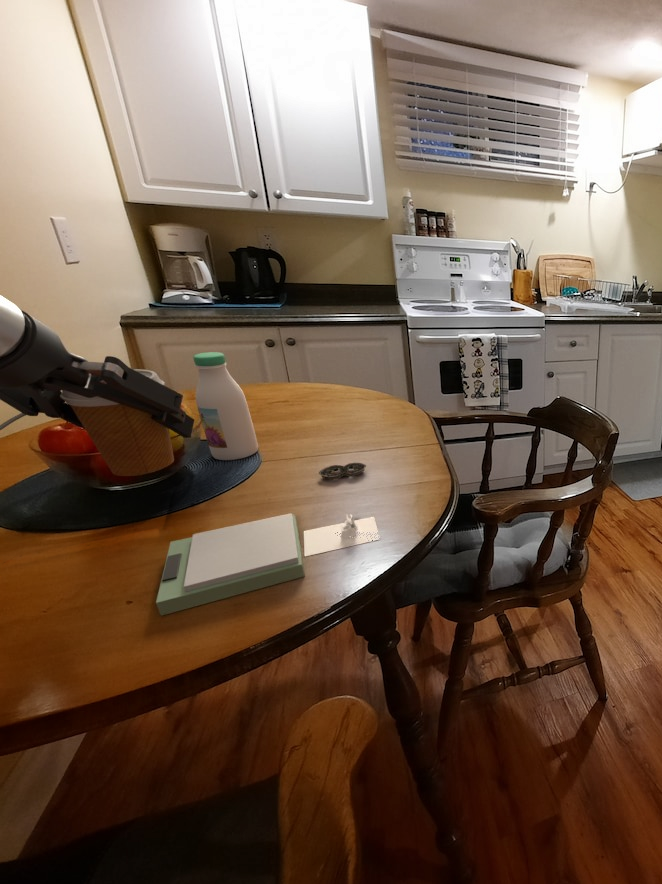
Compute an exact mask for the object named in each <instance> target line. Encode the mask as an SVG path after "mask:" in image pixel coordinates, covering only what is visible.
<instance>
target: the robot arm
mask: <svg viewBox="0 0 662 884" xmlns="http://www.w3.org/2000/svg"><path fill="white" fill-rule="evenodd" d="M89 374H91V378H90V381H89V384H88V388H85V386H86V385H87V382H88V378H89ZM62 390H65V391H69V392H72V393H75V394H78V395H81V396H84V397H87V398H93V397H96V396H98V397H101V398H104V399H107V400H110V401H113V402H116V403H119V404H122V405H125V406H128V407H131V408H134V409H137V410H140V411H143V412H146V413H149V414H152V417H151V419H153V420H155V422H158V423H160V424H162V425H163V426H165V427H167V428H169V431H172V432H173V433H175V434H177V435H179V436H180V437H182V438H184V439H189V438H190V439H191V438H192V433H193V428H194V425H195V424H194V423H195V419H194V418H193V417H192V416H190V415H188V413H186V411H185V410H183V409H182V407H181V406H182V403H183V399H184V395H183V394H182V393H179V391H176V390H174V389H172V388H170V387H168V386H166V385H162V384H160V383H158V382H157V381H155V380H153V379H151V378H149V377H147V376H145V375H143V374H141V373H139V372H137V371H135V370H133V368H131V367H129V366H128V365H127V364H126V363H125V362H124V361H123V360H122V359H120V358H118V357H115V356H110V355H108V356H104V361H103V362H97V361H89V360H88V359H86V358H85V357H82V356H80V355H77V354H75V353H72V352H70V351H68V350H67V348H66V347H65V345H64V344H63V341H62V339H61V338H60V336H59V335H58V333H56V331H54V330H53V329H52V328H51V327H49V326H48V325H46V324H44V323H43V322H41V321H39V319H37V318H35V317H33V316H32V315H31V314H29V313H28V312H26V311H24V310H22V309H20V308H19V307H18V305H16V304H15V303H13V302H12V301H10V300H8V299H7V298H5V297H4V296H3V295H0V401H2V402H3V403H5V404H6V405H8V406H10V407H12V408H13V409H15V410H16V411H18V412H20V413H19V414H17V415H15V416H13V417H11V418H8V420H6V421H4V422H2V423H1V424H0V431H2V430H3V429H5V428H6V427H8V426H9V425H11V424H12V423H14V422H16V421H18V420H20V419H21V418H23V417H25V416H28V417H38V416H39V414H44V415H45V416H46V417H47V418H51V419H61V420H63V421H65V422H67V423H70V424H71V425H74V426H76V427H78V428H80V429H83V430H85V428H84V427H83V425H82V423H81V422H80V420H79V419H78V417H77V415H76V414H75V412H74V411H73V409H72V407H71V406H70V405H69V404H67V403H66V401H65V400H63V399H61V397H60V395H61V394H62Z"/></svg>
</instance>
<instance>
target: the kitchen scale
mask: <svg viewBox="0 0 662 884" xmlns="http://www.w3.org/2000/svg"><path fill="white" fill-rule="evenodd" d="M299 534H300V533H299V526H298V522H297V518H296V514H293V513H292V512H290V513H285V514H280V515H277V516H272V517H267V518H263V519H257V520H253V521H248V522H243V523H239V524H234V525H229V526H225V527H221V528H215V529H212V530H207V531H201V532H196V533H193V534H192V536H191V537H186V538H181V539H177V540H173V541H170V542H169V546H168V550H167V555H166V558H165V563H164V567H163V571H162V577H161V579H160V584H159V588H158V592H157V596H156V600H155V605H156V607H157V610H158V612H159V614H160V616H161V617H162V616H165V615H169V614H173V613H177V612H180V611H184V610H187V609H192V608H195V607H198V606H203V605H206V604H209V603H213V602H216V601H221V600H224V599H227V598H230V597H231V598H232V597H235V596H238V595H242V594H246V593H249V592H253V591H257V590H260V589H263V588H267V587H271V586H275V585H278V584H282V583H285V582H290V581H292V580H296V579H300V578H304V577H305V576H306V575H305V567H304V561H303V554H302V548H301V546H302V545H301V541H300V535H299Z"/></svg>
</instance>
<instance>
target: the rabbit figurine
mask: <svg viewBox="0 0 662 884" xmlns="http://www.w3.org/2000/svg"><path fill="white" fill-rule="evenodd" d="M349 516H350V517H349ZM345 519H346V520H344V522H343V523H344V525H342V526H341V527H340V533H341V534H340V536H341V537H340V539H341V540H342V539H345V538H348V537H349V536H351V538H352V537H353V538H354V537H356V533H357V532H358V531H359V527H358V525H357V523H356V522H355V519H354V516H353V514H351V513H349V514H348V513H345Z"/></svg>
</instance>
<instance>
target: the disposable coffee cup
mask: <svg viewBox="0 0 662 884" xmlns="http://www.w3.org/2000/svg"><path fill="white" fill-rule="evenodd" d="M132 369H133V368H132ZM133 370H135V371H137V372H139V373H141V374H143V375H145V376H147V377H149V378H151V379H153V380H155V381H157V382H158V383H160V384H162V385H164V386H166V385H165V381H164V380H163V379H160V377H159V375H158V374H157V372H155V371H154V370H149V369H141V368H139V369H137V368H136V369H133ZM90 378H91V374H89V378H88V382H87V385H86V386H85V388H88V384H89V381H90ZM61 392H62V394H61V395H60V397H61V399H63V400H65V403H67V404H69V405H70V406H71V407H72V409H73V411H74V412H75V414H76V415H77V417H78V419H79V420H80V422H81V423H82V425H83V427H84V428H85V429H84V431H85V432H86V434H87V435H88V436H89V438H90V440H91V441H92V444H94V446H95V448H96V449H97V451H98V452H99V454H100V456H101V457H102V459H103V461H104V462H105V464H106V465H107V467H108V468H109V470H110V472H111V473H112V474H113V475H114V476H120V477H132V476H133V477H135V476H143V475H146V474H151V473H154V472H157V471H160V470H162V469H165V468H168V467H169V466H170V465H172V464H173V463H174V462H175V456H174V451H173V445H172V440H171V433H170V429H169V428H167V427H165V426H163V425H162V424H160V423H158V422H155V420H153V419H151V417H152V414H149V413H146V412H143V411H140V410H137V409H134V408H131V407H128V406H125V405H122V404H119V403H116V402H113V401H110V400H107V399H104V398H101V397H98V396H96V397H93V398H87V397H84V396H81V395H78V394H75V393H72V392H69V391H65V390H61Z"/></svg>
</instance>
